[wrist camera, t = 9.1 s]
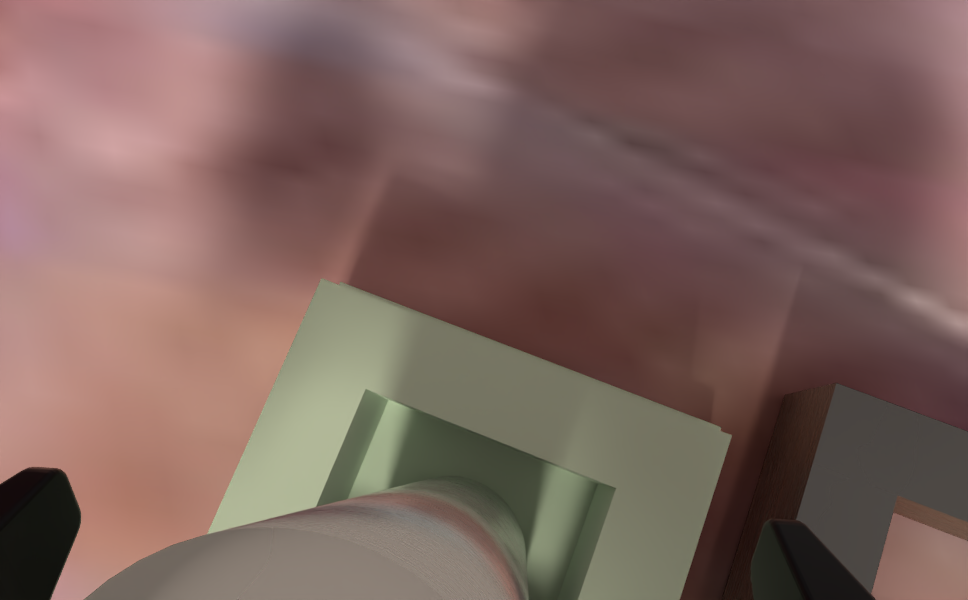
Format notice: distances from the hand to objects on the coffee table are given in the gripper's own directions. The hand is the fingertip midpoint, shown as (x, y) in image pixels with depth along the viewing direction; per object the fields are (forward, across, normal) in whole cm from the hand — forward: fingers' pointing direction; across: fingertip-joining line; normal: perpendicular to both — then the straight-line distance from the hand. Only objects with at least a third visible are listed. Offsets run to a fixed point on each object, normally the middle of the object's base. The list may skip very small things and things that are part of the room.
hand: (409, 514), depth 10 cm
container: (+6, 0, +8) cm, 9 cm away
